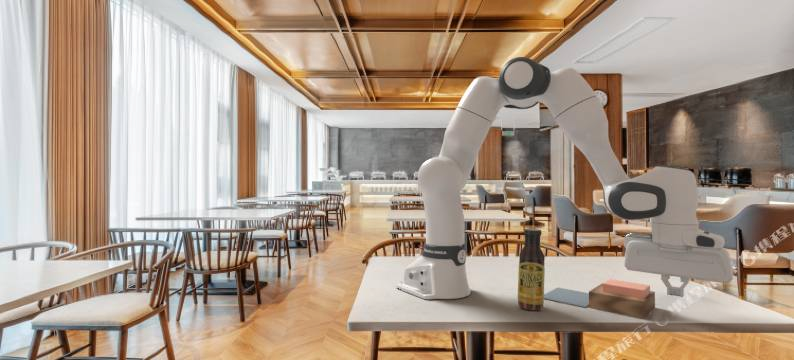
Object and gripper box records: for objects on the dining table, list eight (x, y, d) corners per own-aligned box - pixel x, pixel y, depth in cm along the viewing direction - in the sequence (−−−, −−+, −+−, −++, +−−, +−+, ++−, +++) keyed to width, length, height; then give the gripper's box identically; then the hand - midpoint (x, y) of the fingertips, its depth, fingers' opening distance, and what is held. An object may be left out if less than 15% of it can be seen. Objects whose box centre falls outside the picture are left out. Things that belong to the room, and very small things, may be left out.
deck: (589, 307, 96) (588, 291, 96) (602, 297, 104) (602, 283, 104) (644, 319, 87) (644, 301, 87) (654, 307, 95) (654, 291, 95)
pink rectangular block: (602, 291, 96) (602, 283, 96) (609, 286, 100) (609, 279, 100) (644, 298, 90) (644, 290, 90) (650, 293, 94) (650, 285, 94)
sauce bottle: (516, 310, 94) (516, 230, 94) (518, 302, 100) (517, 227, 100) (545, 313, 92) (544, 231, 92) (545, 305, 98) (544, 228, 98)
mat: (539, 298, 104) (539, 297, 104) (557, 288, 113) (557, 287, 113) (585, 308, 95) (585, 306, 95) (601, 296, 105) (601, 295, 105)
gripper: (620, 233, 93) (620, 289, 93) (731, 241, 79) (732, 308, 79) (627, 230, 98) (627, 284, 97) (733, 238, 83) (734, 301, 83)
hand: (675, 295), depth 88 cm, fingers closed
